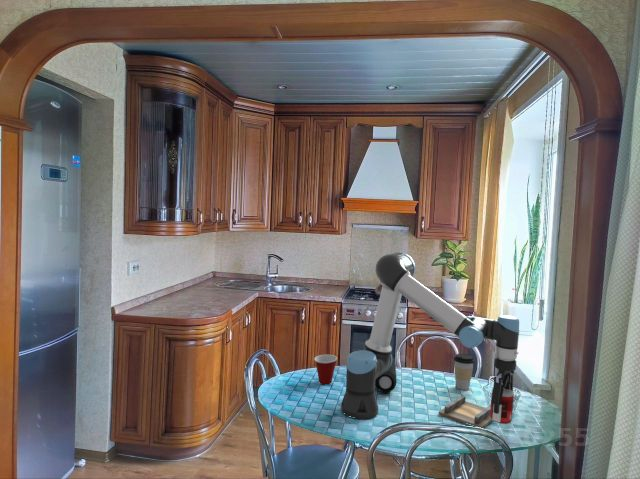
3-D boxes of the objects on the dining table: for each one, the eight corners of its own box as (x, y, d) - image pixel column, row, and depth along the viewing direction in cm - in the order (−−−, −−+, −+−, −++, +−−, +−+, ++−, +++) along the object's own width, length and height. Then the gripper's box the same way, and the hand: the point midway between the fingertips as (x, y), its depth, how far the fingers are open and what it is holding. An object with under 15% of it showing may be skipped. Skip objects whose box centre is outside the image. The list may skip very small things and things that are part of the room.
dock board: (481, 429, 178) (482, 420, 178) (438, 414, 190) (438, 405, 190) (500, 415, 191) (500, 406, 191) (458, 401, 203) (458, 393, 203)
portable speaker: (374, 373, 234) (375, 354, 234) (395, 375, 233) (395, 355, 232) (373, 393, 209) (374, 371, 208) (396, 395, 208) (397, 373, 207)
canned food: (506, 414, 180) (508, 387, 179) (515, 424, 172) (517, 395, 171) (486, 414, 180) (488, 386, 179) (494, 424, 172) (497, 394, 171)
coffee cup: (450, 388, 218) (451, 357, 217) (454, 382, 226) (456, 351, 225) (471, 393, 214) (473, 360, 213) (474, 386, 222) (476, 355, 221)
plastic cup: (310, 379, 223) (311, 354, 222) (331, 377, 226) (332, 353, 226) (317, 388, 213) (318, 362, 212) (339, 386, 216) (340, 360, 215)
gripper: (505, 366, 164) (500, 430, 166) (525, 354, 179) (520, 412, 181) (484, 361, 169) (479, 422, 171) (505, 349, 184) (501, 406, 186)
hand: (500, 417), depth 176 cm, fingers closed on canned food, 8 cm apart
